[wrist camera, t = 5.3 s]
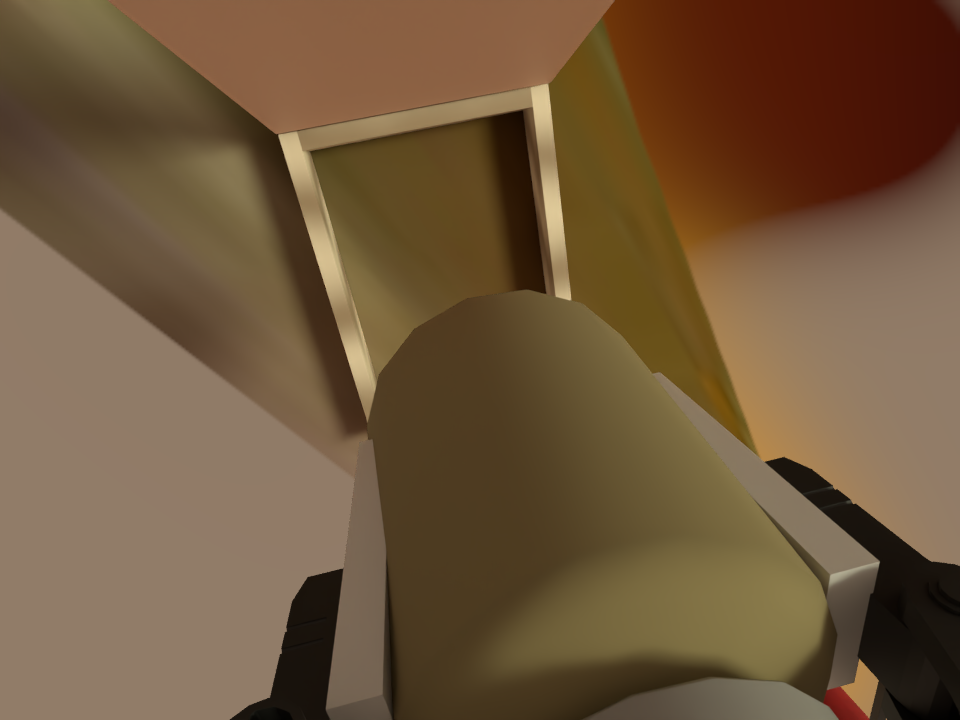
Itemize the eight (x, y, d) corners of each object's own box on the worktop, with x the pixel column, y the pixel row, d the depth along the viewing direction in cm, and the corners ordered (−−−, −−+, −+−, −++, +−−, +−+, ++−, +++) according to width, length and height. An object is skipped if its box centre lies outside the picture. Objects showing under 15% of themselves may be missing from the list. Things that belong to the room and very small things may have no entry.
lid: (275, 134, 26) (267, 105, 26) (550, 82, 27) (546, 54, 27) (-143, -199, 7) (-196, -330, 6) (877, -337, 8) (877, -458, 7)
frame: (287, 136, 29) (277, 134, 27) (536, 89, 30) (547, 83, 28) (376, 427, 37) (374, 445, 35) (570, 382, 38) (581, 396, 36)
